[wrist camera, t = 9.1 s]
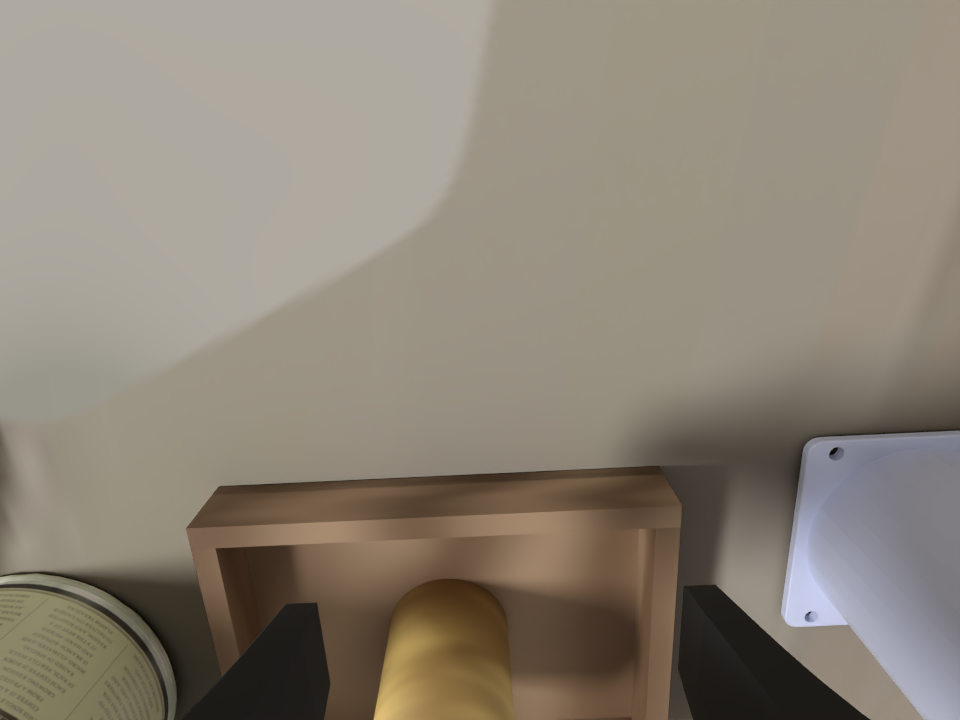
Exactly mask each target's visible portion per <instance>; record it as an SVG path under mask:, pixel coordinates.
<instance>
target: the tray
mask: <svg viewBox="0 0 960 720" xmlns="http://www.w3.org/2000/svg"><path fill="white" fill-rule="evenodd" d="M681 515H682V505H681V503H680V501H679V500H678V498H677V496H676V495H675V493H674V491H673V489H672V488H671V486H670V484H669V483H668V481H667V479H666V478H665V476H664V474H663V473H662V471H661V469H660V467H659V466H655V467H634V468H612V469H591V470H569V471H548V472H526V473H504V474H483V475H461V476H440V477H418V478H397V479H375V480H354V481H332V482H311V483H289V484H268V485H246V486H225V487H218V488H217V490H216V491H215V492H214V493H213V495H212V496H211V497H210V499H209V500H208V501H207V502H206V504H205V505H204V506H203V507H202V509H201V510H200V511H199V513H198V514H197V515H196V516H195V518H194V519H193V520H192V522H191V523H190V524H189V525H188V527H187V528H186V530H187V534H188V539H189V543H190V547H191V551H192V555H193V560H194V564H195V568H196V572H197V576H198V581H199V585H200V589H201V593H202V597H203V601H204V606H205V610H206V614H207V618H208V622H209V627H210V631H211V635H212V639H213V643H214V648H215V652H216V656H217V660H218V664H219V669H220V673H221V677H222V676H223V675H224V674H225V673H226V672H227V671H228V670H229V668H230V667H231V666H232V665H233V664H234V663H235V662H236V661H237V660H238V658H239V657H240V656H241V655H242V654H243V653H244V652H245V650H246V649H247V648H248V647H249V646H250V645H251V644H252V642H253V641H254V640H255V639H256V638H257V637H258V635H259V634H260V633H261V632H262V631H263V630H264V628H265V627H266V626H267V625H268V624H269V623H270V621H271V620H272V619H273V618H274V617H275V616H276V615H277V613H278V612H279V611H280V610H281V609H282V608H283V607H284V606H285V605H286V604H293V603H316V602H317V605H318V611H319V617H320V623H321V629H322V635H323V641H324V647H325V653H326V659H327V665H328V671H329V677H330V683H331V684H330V689H329V695H328V700H327V706H326V712H325V717H324V720H374V715H375V709H376V704H377V698H378V692H379V687H380V681H381V675H382V669H383V664H384V658H385V652H386V647H387V641H388V635H389V630H390V624H391V618H392V615H393V611H394V609H395V607H396V605H397V604H398V602H399V601H400V600H401V599H402V598H403V596H404V595H406V594H407V593H408V592H409V591H411V590H412V589H414V588H415V587H417V586H419V585H421V584H424V583H427V582H430V581H434V580H441V579H457V580H463V581H467V582H471V583H474V584H476V585H478V586H480V587H482V588H484V589H485V590H487V591H489V592H490V593H491V594H492V595H493V596H494V597H495V598H496V599H497V600H498V601H499V603H500V604H501V606H502V607H503V609H504V612H505V614H506V618H507V626H508V639H509V653H510V667H511V681H512V695H513V709H514V720H668V710H669V695H670V680H671V665H672V650H673V635H674V620H675V605H676V590H677V575H678V560H679V545H680V530H681Z"/></svg>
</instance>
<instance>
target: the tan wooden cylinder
mask: <svg viewBox="0 0 960 720" xmlns="http://www.w3.org/2000/svg"><path fill="white" fill-rule="evenodd" d="M374 720H514V709H513V695H512V681H511V667H510V653H509V639H508V626H507V618H506V614H505V612H504V609H503V607H502V606H501V604H500V603H499V601H498V600H497V599H496V598H495V597H494V596H493V595H492V594H491V593H490V592H489V591H487V590H485V589H484V588H482V587H480V586H478V585H476V584H474V583H471V582H467V581H463V580H457V579H441V580H434V581H430V582H427V583H424V584H421V585H419V586H417V587H415V588H414V589H412V590H411V591H409V592H408V593H407V594H406V595H404V596H403V598H402V599H401V600H400V601H399V602H398V604H397V605H396V607H395V609H394V611H393V615H392V618H391V624H390V630H389V635H388V641H387V647H386V652H385V658H384V664H383V669H382V675H381V681H380V687H379V692H378V698H377V704H376V709H375V715H374Z"/></svg>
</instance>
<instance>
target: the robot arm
mask: <svg viewBox="0 0 960 720" xmlns="http://www.w3.org/2000/svg"><path fill="white" fill-rule="evenodd" d="M836 447H838V450H837V452H836V453H835V454H833V455H829V453H830V451H831V450H832V449H833V448H836ZM811 611H812V612H811ZM808 612H811V613H810V614H807V613H808ZM806 614H807V615H806ZM781 615H782V617H783V618H784V620H785V621H786V623H787V624H788V625H790V626H793V627H804V626H827V625H849V626H850V627H851V628H852V629H853V631H854V632H855V633H856V634H857V636H858V637H859V638H860V639H861V641H862V642H863V643H864V644H865V646H866V647H867V648H868V649H869V651H870V652H871V653H872V654H873V656H874V657H875V658H876V659H877V661H878V662H879V663H880V664H881V666H882V667H883V668H884V670H885V671H886V672H887V673H888V675H889V676H890V677H891V678H892V680H893V681H894V682H895V683H896V685H897V686H898V687H899V688H900V690H901V691H902V692H903V693H904V695H905V696H906V697H907V698H908V700H909V701H910V702H911V703H912V705H913V706H914V707H915V708H916V710H917V711H918V712H919V713H920V715H921V716H922V717H923V718H924V720H960V431H940V432H919V433H897V434H876V435H855V436H833V437H817V438H813V439H812V440H810V441H808V442H807V444H806V445H805V446H804V449H803V454H802V461H801V469H800V476H799V483H798V491H797V498H796V505H795V513H794V520H793V528H792V535H791V542H790V550H789V557H788V564H787V572H786V579H785V587H784V594H783V601H782V609H781ZM678 670H679V673H680V677H681V680H682V684H683V687H684V691H685V694H686V698H687V701H688V704H689V707H690V711H691V714H692V717H693V720H870V719H868V718H867V717H866V716H864V715H863V714H862V713H861V712H859V711H858V710H857V709H855V708H854V707H853V706H852V705H850V704H849V703H848V702H847V701H845V700H844V699H843V698H842V697H840V696H839V695H838V694H837V693H835V692H834V691H833V690H832V689H830V688H829V687H828V686H827V685H826V684H824V683H823V682H822V681H821V680H820V679H818V678H817V677H816V676H815V675H814V674H812V673H811V672H810V671H809V670H808V669H807V668H805V667H804V666H803V665H802V664H801V663H800V662H799V661H797V660H796V659H795V658H794V657H793V656H792V655H791V654H790V653H788V652H787V651H786V650H785V649H784V648H783V647H782V646H781V645H779V644H778V643H777V642H776V641H775V640H774V639H773V638H772V637H771V636H770V635H769V634H767V633H766V632H765V631H764V630H763V629H762V628H761V627H760V626H759V625H758V624H757V623H756V622H755V621H753V620H752V619H751V618H750V617H749V616H748V615H747V614H746V613H745V612H744V611H743V610H742V609H741V608H740V607H739V606H738V605H736V604H735V603H734V602H733V601H732V600H731V599H730V598H729V597H728V596H727V595H726V594H725V593H724V592H723V591H722V590H720V589H719V588H718V587H717V586H716V585H698V586H684V593H683V607H682V621H681V635H680V649H679V663H678ZM330 684H331V683H330V677H329V671H328V665H327V659H326V653H325V647H324V641H323V635H322V629H321V623H320V617H319V611H318V605H317V602H316V603H293V604H286V605H285V606H284V607H283V608H282V609H281V610H280V611H279V612H278V613H277V615H276V616H275V617H274V618H273V619H272V620H271V621H270V623H269V624H268V625H267V626H266V627H265V628H264V630H263V631H262V632H261V633H260V634H259V635H258V637H257V638H256V639H255V640H254V641H253V642H252V644H251V645H250V646H249V647H248V648H247V649H246V650H245V652H244V653H243V654H242V655H241V656H240V657H239V658H238V660H237V661H236V662H235V663H234V664H233V665H232V666H231V667H230V668H229V670H228V671H227V672H226V673H225V674H224V675H223V676H222V677H221V678H220V679H219V681H218V682H217V683H216V684H215V685H214V686H213V687H212V688H211V689H210V691H209V692H208V693H207V694H206V695H205V696H204V697H203V698H202V699H201V700H200V701H199V702H198V703H197V704H196V705H195V706H194V707H193V708H192V709H191V710H190V711H189V712H188V713H187V714H186V715H185V716H184V717H183V718H182V719H181V720H324V717H325V712H326V706H327V700H328V695H329V689H330Z"/></svg>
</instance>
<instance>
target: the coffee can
mask: <svg viewBox="0 0 960 720" xmlns="http://www.w3.org/2000/svg"><path fill="white" fill-rule="evenodd" d="M176 704H177V688H176V682H175V677H174V673H173V669H172V666H171V663H170V660H169V658H168V656H167V654H166V652H165V650H164V648H163V646H162V644H161V643H160V641H159V640H158V638H157V637H156V635H155V634H154V633H153V631H152V630H151V628H150V627H149V626H148V625H147V624H146V623H145V622H144V621H143V620H142V618H141V617H140V616H139V615H138V614H137V613H136V612H134V611H133V610H132V609H130V608H129V607H127V606H126V605H124V604H122V603H121V602H120V601H119V600H118V599H116V598H115V597H113V596H111V595H110V594H108V593H106V592H104V591H102V590H100V589H98V588H96V587H93V586H91V585H88V584H85V583H83V582H79V581H76V580H72V579H68V578H64V577H59V576H50V575H45V574H36V573H35V574H24V575H9V576H3V577H0V720H174V717H175V712H176Z"/></svg>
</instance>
